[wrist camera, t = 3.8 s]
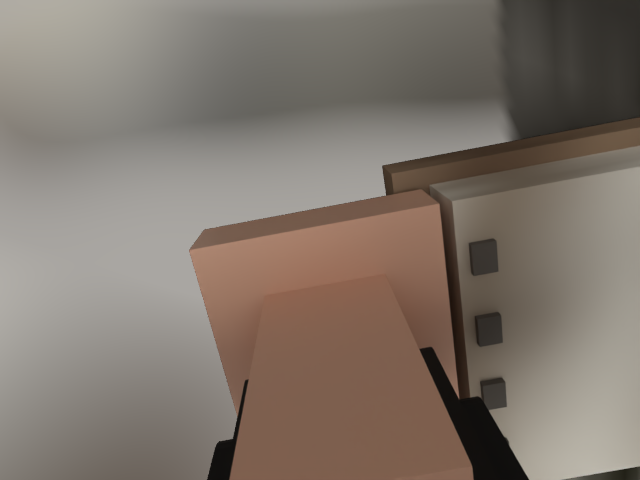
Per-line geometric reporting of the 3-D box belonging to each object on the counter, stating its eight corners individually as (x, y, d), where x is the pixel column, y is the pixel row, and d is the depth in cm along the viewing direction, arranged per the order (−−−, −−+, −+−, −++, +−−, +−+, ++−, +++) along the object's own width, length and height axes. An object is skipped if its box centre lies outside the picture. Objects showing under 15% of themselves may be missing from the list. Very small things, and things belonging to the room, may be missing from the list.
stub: (421, 188, 12) (600, 333, 5) (451, 451, 15) (594, 797, 8) (203, 229, 12) (56, 429, 5) (274, 482, 15) (245, 849, 8)
